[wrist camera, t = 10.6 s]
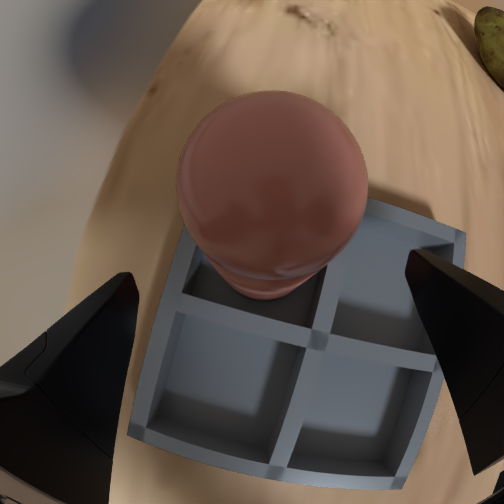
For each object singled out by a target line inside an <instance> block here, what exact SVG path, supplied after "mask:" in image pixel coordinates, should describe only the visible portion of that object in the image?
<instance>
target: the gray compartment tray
mask: <svg viewBox="0 0 504 504" xmlns="http://www.w3.org/2000/svg"><path fill="white" fill-rule="evenodd" d="M465 248H466V233H465V232H463V231H460V230H458V229H455V228H453V227H450V226H448V225H445V224H443V223H440V222H437V221H435V220H432V219H429V218H427V217H424V216H421V215H419V214H416V213H413V212H410V211H408V210H405V209H402V208H399V207H396V206H393V205H390V204H387V203H384V202H381V201H378V200H375V199H372V198H369V197H368V198H367V204H366V209H365V213H364V215H363V218H362V221H361V223H360V226H359V228H358V230H357V232H356V233H355V235H354V237H353V238H352V240H351V241H350V242H349V244H348V245H347V246H346V247H345V248H344V250H343V251H342V252H341V253H340V254H339V255H338V256H337V257H336V258H334V259H333V260H332V261H331V262H330V263H328V264H327V265H326V266H324V267H323V268H322V269H321V270H319V271H318V272H317V273H315V274H314V275H313V276H311V277H310V278H309V279H308V280H306V281H305V282H304V283H302V284H301V285H300V286H298V287H297V288H296V289H294V290H293V291H292V292H290V293H289V294H287V295H286V296H284V297H282V298H279V299H276V300H272V301H254V300H250V299H247V298H245V297H243V296H241V295H239V294H238V293H236V292H235V291H234V290H233V289H232V288H231V287H230V286H229V285H228V284H227V283H226V281H225V280H224V279H223V278H222V276H221V275H220V274H219V272H218V271H217V270H216V269H215V267H214V266H213V265H212V263H211V262H210V261H209V260H208V258H207V257H206V256H205V254H204V253H203V252H202V251H201V249H200V248H199V247H198V245H197V244H196V243H195V241H194V240H193V238H192V237H191V235H190V233H189V232H188V230H187V228H186V226H185V224H184V227H183V230H182V233H181V236H180V239H179V242H178V245H177V248H176V251H175V254H174V257H173V260H172V263H171V267H170V270H169V273H168V276H167V279H166V283H165V286H164V289H163V293H162V296H161V299H160V303H159V306H158V310H157V313H156V317H155V320H154V324H153V327H152V331H151V335H150V338H149V342H148V346H147V350H146V354H145V357H144V361H143V365H142V369H141V373H140V378H139V382H138V386H137V390H136V395H135V399H134V403H133V408H132V412H131V417H130V422H129V427H128V432H127V435H128V436H130V437H133V438H135V439H137V440H140V441H142V442H145V443H147V444H150V445H152V446H155V447H157V448H160V449H163V450H165V451H168V452H171V453H174V454H177V455H179V456H182V457H185V458H188V459H192V460H195V461H198V462H201V463H205V464H208V465H211V466H215V467H219V468H222V469H226V470H230V471H234V472H238V473H242V474H247V475H251V476H256V477H261V478H266V479H271V480H277V481H283V482H289V483H296V484H303V485H311V486H320V487H331V488H344V489H369V490H392V489H402V487H403V485H404V483H405V481H406V479H407V477H408V475H409V473H410V470H411V468H412V466H413V464H414V461H415V459H416V457H417V454H418V452H419V450H420V447H421V445H422V442H423V440H424V437H425V434H426V432H427V429H428V426H429V424H430V421H431V418H432V415H433V412H434V409H435V406H436V403H437V400H438V396H439V393H440V390H441V386H442V383H443V379H444V375H443V372H442V370H441V367H440V364H439V362H438V359H437V357H436V354H435V352H434V349H433V347H432V344H431V342H430V340H429V337H428V335H427V333H426V330H425V328H424V326H423V323H422V321H421V319H420V317H419V314H418V312H417V309H416V306H415V303H414V300H413V297H412V294H411V291H410V289H409V286H408V283H407V280H406V278H405V267H406V263H407V259H408V255H409V252H410V250H412V249H423V250H425V251H428V252H430V253H432V254H434V255H436V256H438V257H440V258H442V259H444V260H446V261H448V262H450V263H452V264H454V265H456V266H458V267H460V268H462V269H464V261H465Z"/></svg>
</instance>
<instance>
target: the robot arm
mask: <svg viewBox="0 0 504 504" xmlns="http://www.w3.org/2000/svg"><path fill="white" fill-rule="evenodd" d="M405 278H406V280H407V283H408V286H409V289H410V291H411V294H412V297H413V300H414V303H415V306H416V309H417V312H418V314H419V317H420V319H421V321H422V323H423V326H424V328H425V330H426V333H427V335H428V337H429V340H430V342H431V344H432V347H433V349H434V352H435V354H436V357H437V359H438V362H439V364H440V367H441V370H442V372H443V375H444V378H445V380H446V383H447V386H448V389H449V392H450V395H451V397H452V400H453V403H454V406H455V409H456V413H457V416H458V419H460V420H459V423H460V426H461V429H462V433H463V436H464V440H465V443H466V447H467V451H468V455H469V459H470V463H471V467H472V471H473V474H474V476H475V475H477V474H479V473H480V472H482V471H484V470H486V469H487V468H489V467H491V466H493V465H494V464H496V463H498V462H499V461H501V460H503V459H504V291H503V290H500V289H499V288H498V287H496V286H494V285H492V284H490V283H488V282H487V281H485V280H483V279H481V278H479V277H477V276H475V275H473V274H472V273H470V272H468V271H466V270H464V269H462V268H460V267H458V266H456V265H454V264H452V263H450V262H448V261H446V260H444V259H442V258H440V257H438V256H436V255H434V254H432V253H430V252H428V251H425V250H423V249H412V250H410V252H409V255H408V259H407V263H406V267H405ZM138 306H139V292H138V289H137V286H136V283H135V280H134V277H133V275H132V273H131V272H120V273H118V274H117V275H115V276H114V277H113V278H111V279H110V280H109V281H107V282H106V283H105V284H103V285H102V286H101V287H100V288H98V289H97V290H96V291H94V292H93V293H92V294H91V295H89V296H88V297H87V298H85V299H84V300H83V301H82V302H80V303H79V304H78V305H77V306H75V307H74V308H73V309H72V310H70V311H69V312H68V313H67V314H66V315H64V316H63V317H62V318H61V319H59V320H58V321H57V322H56V323H55V324H53V325H52V326H51V327H50V328H49V329H47V332H46V331H45V332H44V333H42V334H41V335H40V336H39V337H38V338H37V339H35V340H34V341H33V342H32V343H30V344H29V345H28V346H27V347H26V348H24V349H23V350H22V351H20V352H19V353H18V354H16V355H15V356H14V357H13V358H11V359H10V360H9V361H7V362H6V363H5V364H3V365H2V366H1V367H0V504H109V493H110V482H111V473H112V464H113V455H114V447H115V440H116V433H117V427H118V420H119V414H120V408H121V403H122V397H123V392H124V386H125V381H126V376H127V371H128V366H129V362H130V357H131V352H132V348H133V343H134V338H135V330H136V322H137V313H138ZM477 504H504V471H502V472H501V473H500V475H499V478H498V480H497V483H496V486H495V488H494V491H493V494H492V495H491V496H489V497H487V498H486V499H484V500H482V501H480V502H479V503H477Z"/></svg>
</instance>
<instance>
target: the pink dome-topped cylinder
mask: <svg viewBox="0 0 504 504" xmlns="http://www.w3.org/2000/svg"><path fill="white" fill-rule="evenodd" d="M176 193H177V202H178V207H179V210H180V214H181V217H182V219H183V221H184V224H185V226H186V228H187V230H188V232H189V233H190V235H191V237H192V238H193V240H194V241H195V243H196V244H197V245H198V247H199V248H200V249H201V251H202V252H203V253H204V254H205V256H206V257H207V258H208V260H209V261H210V262H211V263H212V265H213V266H214V267H215V269H216V270H217V271H218V272H219V274H220V275H221V276H222V278H223V279H224V280H225V281H226V283H227V284H228V285H229V286H230V287H231V288H232V289H233V290H234V291H235V292H236V293H238V294H239V295H241V296H243V297H245V298H247V299H250V300H254V301H272V300H276V299H279V298H282V297H284V296H286V295H287V294H289V293H290V292H292V291H293V290H294V289H296V288H297V287H298V286H300V285H301V284H302V283H304V282H305V281H306V280H308V279H309V278H310V277H311V276H313V275H314V274H315V273H317V272H318V271H319V270H321V269H322V268H323V267H324V266H326V265H327V264H328V263H330V262H331V261H332V260H333V259H334V258H336V257H337V256H338V255H339V254H340V253H341V252H342V251H343V250H344V248H345V247H346V246H347V245H348V244H349V242H350V241H351V240H352V238H353V237H354V235H355V233H356V232H357V230H358V228H359V226H360V223H361V221H362V218H363V215H364V213H365V209H366V204H367V198H368V174H367V169H366V164H365V160H364V157H363V154H362V151H361V149H360V146H359V144H358V143H357V141H356V139H355V137H354V136H353V134H352V133H351V131H350V130H349V129H348V127H347V126H346V125H345V124H344V122H343V121H342V120H341V119H340V118H339V117H338V116H337V115H336V114H334V113H333V112H332V111H331V110H329V109H328V108H326V107H325V106H323V105H322V104H320V103H318V102H316V101H314V100H312V99H310V98H307V97H305V96H302V95H299V94H295V93H291V92H286V91H275V90H272V91H258V92H252V93H248V94H244V95H241V96H238V97H235V98H233V99H230V100H228V101H226V102H224V103H223V104H221V105H220V106H218V107H217V108H215V109H214V110H213V111H211V112H210V113H209V114H208V115H207V116H206V117H204V118H203V119H202V121H201V122H200V123H199V124H198V125H197V126H196V128H195V129H194V130H193V132H192V133H191V135H190V136H189V138H188V140H187V142H186V144H185V146H184V148H183V150H182V153H181V156H180V159H179V164H178V169H177V174H176Z"/></svg>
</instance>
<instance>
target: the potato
mask: <svg viewBox="0 0 504 504" xmlns="http://www.w3.org/2000/svg"><path fill="white" fill-rule="evenodd" d="M474 31H475V35H476V37H477V40H478V42H479V44H480V50H479V51H480V56H481V59H482V61H483V63H484V65H485V67H486V68H487V70H488V71H489V73H490V74H491V75H492V76H493V77H494V79H495V80H496V81H497V82H498V83H499V84H500V85H501V86H502V87H503V88H504V11H502V10H500V9H496V8H493V7H484V8H482V9H480V10H479V11H478V13H477V15H476V17H475V23H474Z"/></svg>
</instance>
